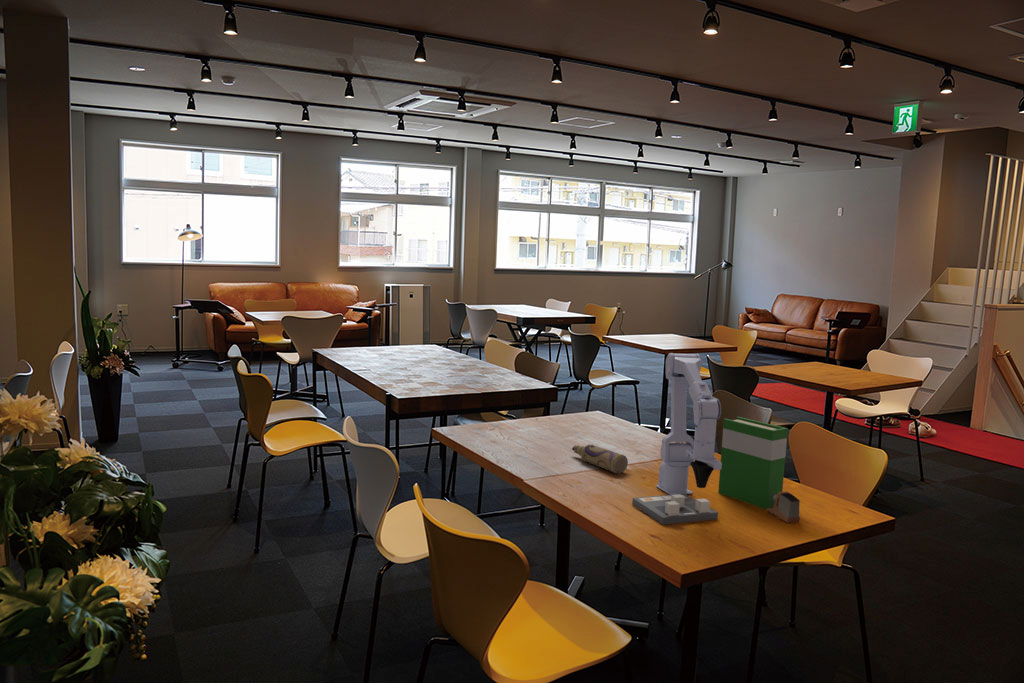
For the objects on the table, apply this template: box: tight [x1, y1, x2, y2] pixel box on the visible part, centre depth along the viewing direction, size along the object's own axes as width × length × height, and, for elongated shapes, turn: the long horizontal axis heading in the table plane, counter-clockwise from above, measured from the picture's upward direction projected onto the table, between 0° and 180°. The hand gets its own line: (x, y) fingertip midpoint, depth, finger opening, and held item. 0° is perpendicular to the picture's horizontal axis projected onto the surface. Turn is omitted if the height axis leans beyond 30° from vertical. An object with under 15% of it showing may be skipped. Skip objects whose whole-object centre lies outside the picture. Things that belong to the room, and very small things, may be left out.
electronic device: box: [766, 490, 801, 524], centre depth 210 cm, size 4×10×8 cm, turn 17°
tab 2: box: [695, 498, 711, 512], centre depth 207 cm, size 2×3×3 cm
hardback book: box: [717, 416, 789, 510], centre depth 225 cm, size 18×7×24 cm, turn 37°
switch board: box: [632, 494, 719, 526], centre depth 211 cm, size 17×18×2 cm
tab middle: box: [671, 494, 685, 508], centre depth 210 cm, size 2×3×3 cm
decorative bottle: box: [571, 444, 629, 474], centre depth 258 cm, size 26×8×7 cm, turn 33°
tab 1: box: [665, 501, 680, 515], centre depth 203 cm, size 2×3×3 cm
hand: (701, 487), depth 207 cm, fingers closed
